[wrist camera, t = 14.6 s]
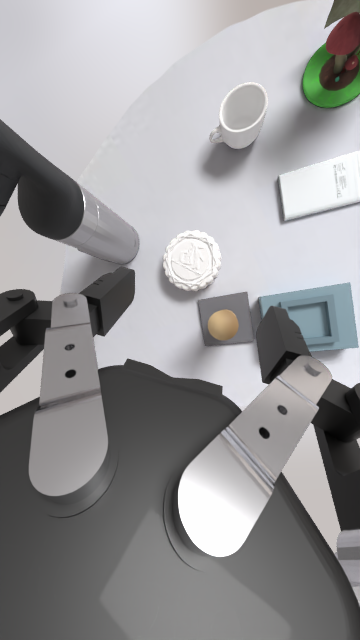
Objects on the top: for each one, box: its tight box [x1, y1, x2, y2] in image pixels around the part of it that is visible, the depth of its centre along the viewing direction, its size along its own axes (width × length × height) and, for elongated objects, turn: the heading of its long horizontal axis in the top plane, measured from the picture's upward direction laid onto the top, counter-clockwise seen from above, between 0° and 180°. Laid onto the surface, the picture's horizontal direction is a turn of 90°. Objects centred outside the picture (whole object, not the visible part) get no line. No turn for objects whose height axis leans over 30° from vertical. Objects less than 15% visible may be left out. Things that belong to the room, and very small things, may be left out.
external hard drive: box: [278, 151, 360, 221], centre depth 35 cm, size 2×8×12 cm
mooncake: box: [163, 230, 221, 291], centre depth 40 cm, size 12×12×4 cm
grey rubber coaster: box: [198, 292, 254, 346], centre depth 40 cm, size 10×10×1 cm
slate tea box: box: [259, 283, 358, 352], centre depth 35 cm, size 14×11×4 cm
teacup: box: [210, 82, 268, 149], centre depth 35 cm, size 10×8×5 cm
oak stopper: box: [208, 309, 239, 340], centre depth 35 cm, size 5×5×11 cm
